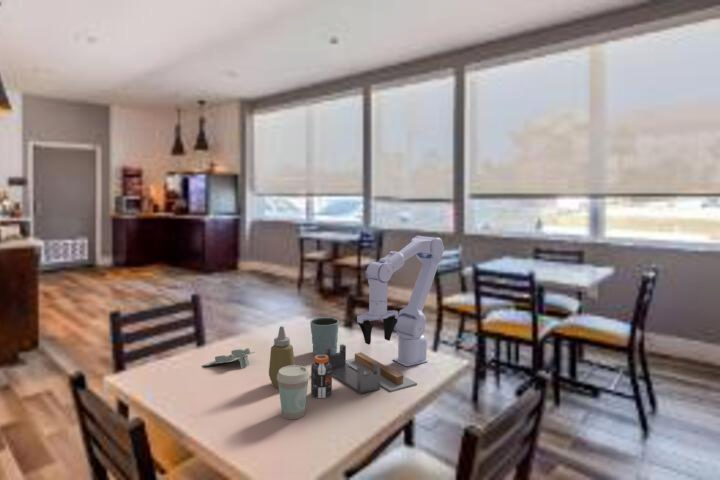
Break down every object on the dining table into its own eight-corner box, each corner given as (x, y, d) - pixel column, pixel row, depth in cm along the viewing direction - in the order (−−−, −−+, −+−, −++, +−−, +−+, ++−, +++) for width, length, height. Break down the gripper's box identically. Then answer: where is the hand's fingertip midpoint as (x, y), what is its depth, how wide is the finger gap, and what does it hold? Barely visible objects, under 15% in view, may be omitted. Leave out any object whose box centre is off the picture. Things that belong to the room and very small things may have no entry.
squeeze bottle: (300, 381, 147) (300, 324, 145) (288, 392, 140) (287, 332, 138) (277, 378, 150) (276, 322, 148) (263, 388, 142) (262, 329, 140)
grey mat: (366, 357, 169) (366, 355, 169) (417, 384, 146) (417, 383, 146) (342, 362, 164) (342, 360, 164) (390, 391, 140) (390, 390, 140)
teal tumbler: (344, 352, 174) (344, 319, 173) (327, 360, 166) (327, 326, 164) (321, 347, 180) (321, 315, 178) (304, 354, 171) (304, 322, 170)
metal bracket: (260, 344, 165) (226, 357, 152) (263, 361, 165) (230, 375, 152) (232, 348, 173) (198, 361, 160) (235, 364, 173) (202, 378, 160)
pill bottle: (328, 399, 135) (328, 360, 134) (308, 397, 136) (308, 359, 135) (334, 391, 141) (334, 353, 140) (314, 389, 142) (314, 352, 141)
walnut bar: (360, 359, 166) (360, 352, 165) (403, 383, 145) (403, 375, 145) (354, 360, 164) (354, 353, 164) (396, 385, 144) (396, 377, 144)
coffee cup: (295, 425, 120) (295, 379, 119) (270, 416, 125) (269, 372, 123) (316, 412, 128) (316, 368, 126) (291, 404, 132) (291, 362, 131)
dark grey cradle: (342, 366, 161) (343, 344, 160) (380, 389, 142) (380, 364, 141) (324, 370, 157) (324, 347, 156) (360, 394, 139) (360, 369, 138)
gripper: (366, 305, 145) (365, 349, 146) (404, 299, 153) (403, 341, 154) (353, 300, 151) (353, 342, 152) (391, 295, 159) (390, 335, 160)
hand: (377, 341), depth 154 cm, fingers open, 7 cm apart
